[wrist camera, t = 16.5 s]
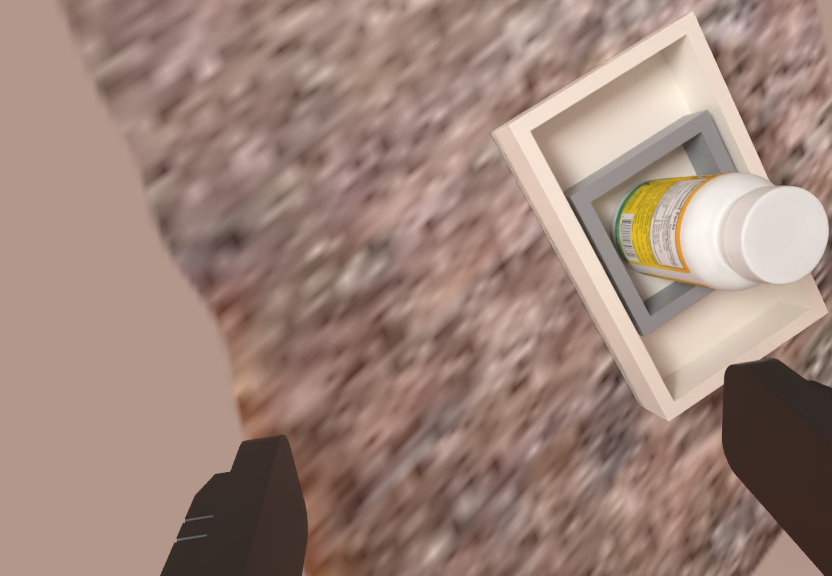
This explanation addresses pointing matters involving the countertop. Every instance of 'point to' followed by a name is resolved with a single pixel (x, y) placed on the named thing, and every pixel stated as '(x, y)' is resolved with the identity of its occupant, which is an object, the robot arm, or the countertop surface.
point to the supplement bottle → (720, 231)
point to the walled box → (622, 170)
